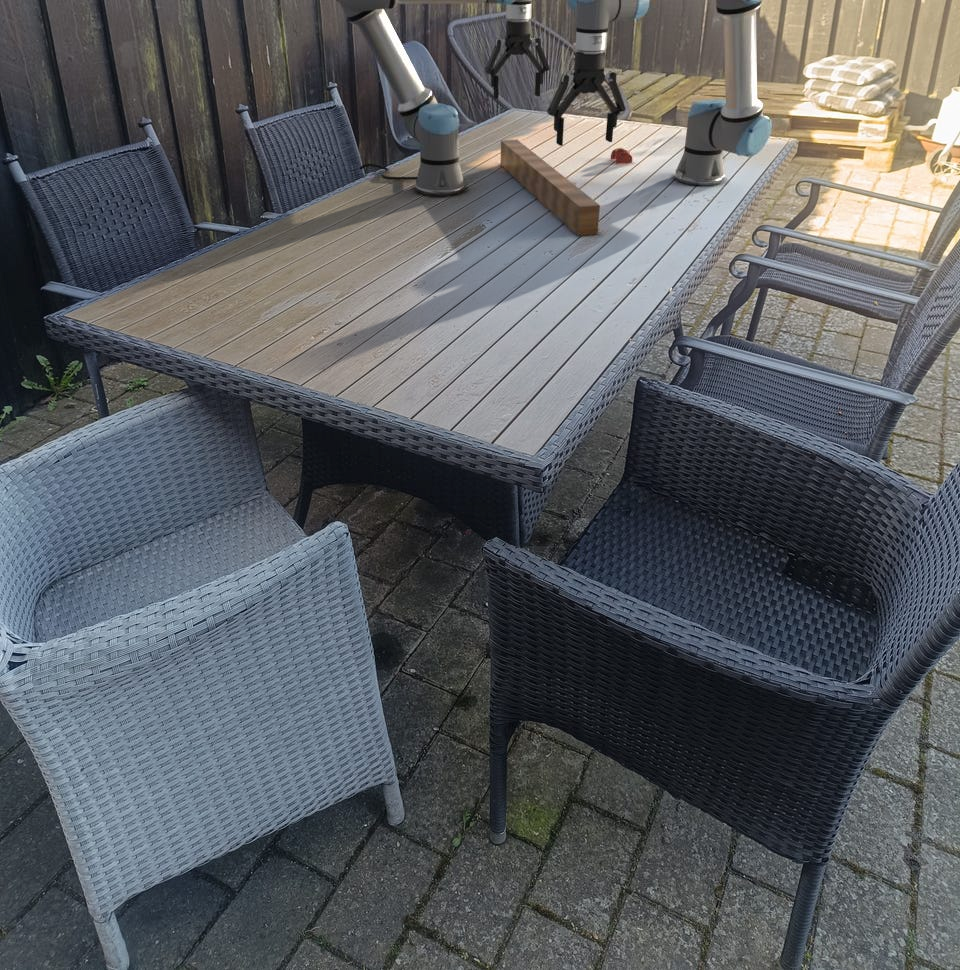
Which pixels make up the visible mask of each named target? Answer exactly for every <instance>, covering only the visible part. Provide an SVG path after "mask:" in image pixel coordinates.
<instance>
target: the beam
mask: <svg viewBox="0 0 960 970" xmlns="http://www.w3.org/2000/svg"><path fill="white" fill-rule="evenodd" d="M500 166H501V167H502V168H503V169H505V171H507V173H508V174H510V175H511V176H512V177H513V178H514V179H515V180H516V181H518V182H519V183H520V184H521V185H522V186H523V187H524V188H525V189H526V190H527V191H528V192H530V194H532V195H533V196H534V197H535V198H536V199H537V200H538V201H539V202H540V203H542V205H544V207H546V208H547V209H548V210H549V211H550V212H551V213H553V215H554V216H556V217H557V218H558V219H559V220H560V221H561V222H562V223H563V224H564V225H565V226H567V228H568V229H570V230H571V231H572V232H573V233H574V234H575V235H576V236H577V237H580V236H581V237H582V236H583V237H584V236H592V235H593V236H594V235H598V233H599V221H600V211H601V204H599V203H598V202H597V201H596V200H594V199H593V198H592V197H591V196H589V195H588V194H587V193H585V192H584V191H583V190H582V189H580V188H579V187H578V186H576V185H575V183H573V182H571V181H570V180H569V179H568V178H567V177H565V176H564V175H563V174H561V173H560V172H559V171H558V170H556V169H555V168H554V167H553V166H552V165H550V164H549V163H547V162H546V161H545V160H544V159H543V158H541V157H540V156H538V155H537V154H536V153H535V152H533V151H532V150H531V149H530V148H529V147H528V146H526V145H525V144H524V143H522V142H521V141H519V140H518V139H503V140H500Z"/></svg>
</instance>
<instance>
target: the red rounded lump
mask: <svg viewBox="0 0 960 970" xmlns="http://www.w3.org/2000/svg"><path fill="white" fill-rule="evenodd" d="M610 160H615V164H616V165H620V164H632V163H633V156H632V154H631V152H630V150H628V149H624V148H623V147H617V148H615V149H613V150H612V151H611V154H610Z"/></svg>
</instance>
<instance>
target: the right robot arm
mask: <svg viewBox="0 0 960 970" xmlns="http://www.w3.org/2000/svg"><path fill="white" fill-rule="evenodd" d="M650 1H651V0H567V4H568V7H569V9H570V10H571V11H572V12H573V13H576V33H575V44H574V49H575V50H576V51H575V53H574V63H573V64H574V65H573V73H572V74H567V73H564V72H563V73H561V76H560V82H559V85H558V87H557V89H556V91H555V93H554V95H553V97H552V99H551V102H550V104H549V106H548V108H547V111H546V113H547V115H549V116H551V117H553V130H554V131H555V132H556V140H555V143H556V145H558V146H560V147H562V146H563V144H564V128H565V125H564V124H565V118H564V117H562V116H563V115H564V114H565V113H566V111H567V110H568V109H569V108H570V106H571V105H572V104H573V102H574V101H575V100H576V98H577V97H578V96H579V95H580V94H589V93H591V94H595V93H596V92H597V93H598V95H599V96H600V98H601V99H602V101H603V102H604V104H605V105H606V107H607V108H608V110H609V111H610V112H607V114H606V115H607V117H606V128H605V129H606V130H605V141H606V142H608V143H612V142H613V136H614V128H617V125H618V116H619V115H620V113H622V112H625V111H626V106H625V102H624V100H623V97H622V95H621V91H620V89H619V88H620V87H619V85H618V82H617V73H616V72H614V71H612V70H609V71H608V72H605V68H606V59H607V58H606V57H607V54H606V52H605V51H606V49H607V43H608V31H609V23H612V22H622V21H630V22H631V21H634V20H639V19H642V18H644V16H645V15H646V14H647V12H648V10H649V7H650ZM762 4H763V0H715V6H716V7H715V8H716V13H717V14H718V15H719V16H720V17H721V18H722V34H723V35H722V36H723V59H724V60H723V62H724V63H723V64H724V87H725V88H724V90H725V99H708V100H707V99H706V100H699V101H695V102H693V103H692V104H691V105H690V107H689V113H688V116H687V124H686V125H687V126H686V135H685V143H684V150H683V154H682V156H681V158H680V161H679V162H678V165H677V167H676V168H675V172H674V173H675V174H674V179H675V180H676V181H677V182H680V183H683V184H686V185H693V186H714V185H715V186H716V185H720V184H722V183H723V182H724V181H725V177H726V176H725V175H726V173H725V167H724V160H723V152H727V153H731V154H734V155H737V156H739V157H742V156H743V157H746V158H751V157H754V156H756V155H757V154H759V153H760V152H761V151H762V150H763V149H764V148H765V146H766V144H767V143H768V142H769V139H770V136H771V133H772V128H773V127H772V125H773V124H772V120H771V119H770V118H769V117H768V116H767V115H764V109H763V106H764V105H763V102H762V101H761V100H760V99H758V75H757V74H758V73H757V72H758V70H757V69H758V68H757V62H758V59H757V58H758V57H757V11H758V10H759V9H760V7H761V6H762ZM605 80H606V82H608V86H609V88H610V92H611V94H612V97H613V99H614V102H615V103H614V102H613V100H612V99H611V97H610V96H609V93H607V91H606V89H605V88H604V86H603V85H602V84H603V83H604V81H605ZM571 82H573V86H572V87H571V88H570V90H569V92H568V93H567V94H566V96H565V98H564V95H565V93H566V91H567V89H568V86H569V85H570V83H571ZM563 98H564V99H563ZM562 99H563V100H562Z"/></svg>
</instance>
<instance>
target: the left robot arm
mask: <svg viewBox="0 0 960 970" xmlns="http://www.w3.org/2000/svg"><path fill="white" fill-rule="evenodd" d="M336 2H337V3H338V4H339V5H340V7H341V10H343V12H344V15H345V17H346V18H347V20H348V22H349V23H350V24H353V25H356V26H357V27H358V29H359V30H360V32H361V34H362V36H363V38H364V40H365V42H366V43H367V45H368V47H369V49H370V51H371V52H372V54H373V57H374V58H375V60H376V61H377V64H378V65H379V67H380V69H381V71H382V73H383V75H384V77H385V79H386V80H387V83H388V84H389V86H390V88H391V89H392V91H393V93H394V95H395V97H396V99H397V101H398V107H397V111H398V113H399V115H400V117H401V118H402V121H403V124H404V128H405V130H406V132H407V133H408V134H409V135H410V136H411V138H412V139H414V140H416V141H417V142H418V143H419V157H420V158H419V159H420V161H419V162H420V164H419V168H418V172H417V176H388V175H387V174H388V173H389V172H390V169H389V168H388V167H386V166H384V165H381V164H377V163H364V164H362V165H361V166H360V167H358V170H363V169H364V168H366V167H374V168H379V169H383V170H384V169H385V170H384V171H383V172H382V173H381V174H380V175H381V176H380V177H381V178H383V179H385V180H392V181H396V180H397V181H398V180H400V181H401V180H404V181H415V183H414V184H415V185H414V186H415V192H417V193H418V194H420V195H424V196H430V197H450V196H455V195H459V194H461V193H463V192H464V191H466V181H465V179H464V176H463V172H462V169H461V165H460V144H459V143H460V141H459V140H460V139H459V137H460V135H459V134H460V132H459V129H460V128H459V125H460V119H459V113H458V111H457V109H456V108H455V107H454V106H451V105H449V104H445V103H438V101H437V99H436V97H435V95H434V93H433V91H432V89H431V88H428V87H424V85H423V83H422V80H421V79H420V76H419V74H418V72H417V70H416V69H415V67H414V65H413V63H412V62H411V60H410V57H409V55H408V54H407V52H406V50H405V48H404V46H403V44H402V42H401V40H400V38H399V36H398V35H397V32H396V30H395V29H394V27H393V25H392V23H391V20H390V18H389V17H388V15H387V13H386V11H385V10H393V9H395V7H396V6H397V5H446V4H447V5H452V4H453V5H454V4H456V5H457V4H458V5H459V4H461V5H462V4H499V5H502V6H505V5H506V6H505V11H506V12H505V19H507V20H506V21H505V38H504V39H501V38H495V39H494V47H493V50H492V52H491V54H490V56H489V59H488V61H487V63H486V66H485V68H484V72H485V73H486V74H489V75H490V86H491V87H492V88H493V98H494V99H495V100H499V81H500V80H499V79H500V78H499V77H500V76H499V75H498V73H499V72H500V70H501V69H502V67H503V66H504V64H505V63H506V62H507V60H508V59H509V58H510V57H511V55H512V56H517V55H520V56H523V55H526V56H527V57H528V59H529V60H530V62H531V63H532V65H533V66H534V68H535V69H536V70H537V71H536V72H535V78H534V80H535V81H534V96H535V97H539V98H540V97H541V85H543V84H544V74H545V73H546V72H547V71H548V72H549V71H550V69H551V67H550V65H549V62H548V60H547V57H546V55H545V52H544V50H543V47H542V40H541V38H540V37H538V36H535V37H533V38H532V36H531V35H532V21H531V19H532V2H533V1H532V0H336ZM531 45H533V46H534V48H535V50H536V53H537V55H538V58H539V60H540V62H541V64H540V62H539V60H538V59H537V58H536V56H535V55H534V54H533V52H532V51H531V49H530V47H531ZM503 46H505V47H506V48H505V50H504V51H503V53H502V54H501V56H500V58H498V56H499V54H500V52H501V49H502V48H503ZM497 58H498V60H497Z"/></svg>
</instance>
